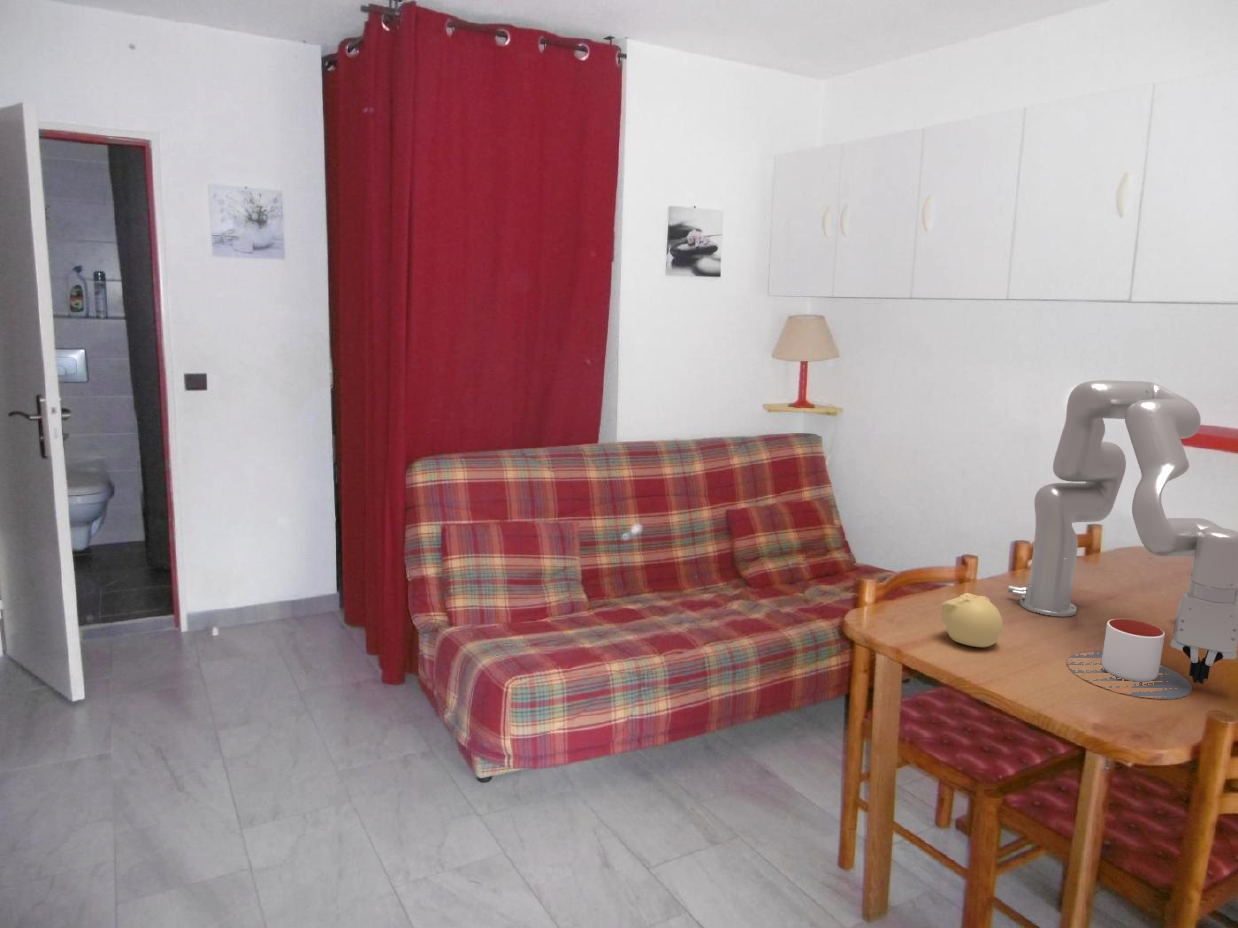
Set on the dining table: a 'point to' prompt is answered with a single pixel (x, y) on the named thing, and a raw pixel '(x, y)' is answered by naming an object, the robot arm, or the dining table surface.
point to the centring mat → (1172, 678)
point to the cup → (1132, 650)
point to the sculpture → (972, 620)
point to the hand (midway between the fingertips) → (1197, 680)
